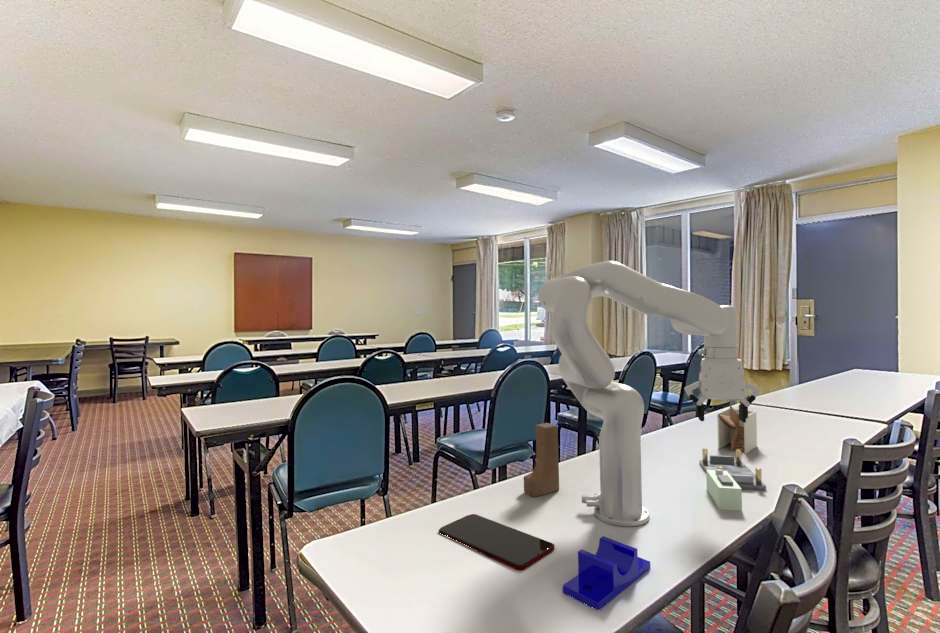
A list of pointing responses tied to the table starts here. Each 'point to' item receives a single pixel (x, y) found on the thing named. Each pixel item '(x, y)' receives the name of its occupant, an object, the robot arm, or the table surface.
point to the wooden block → (544, 462)
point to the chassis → (734, 470)
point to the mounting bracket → (605, 573)
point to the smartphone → (498, 541)
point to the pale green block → (724, 490)
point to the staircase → (737, 430)
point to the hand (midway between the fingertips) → (721, 420)
